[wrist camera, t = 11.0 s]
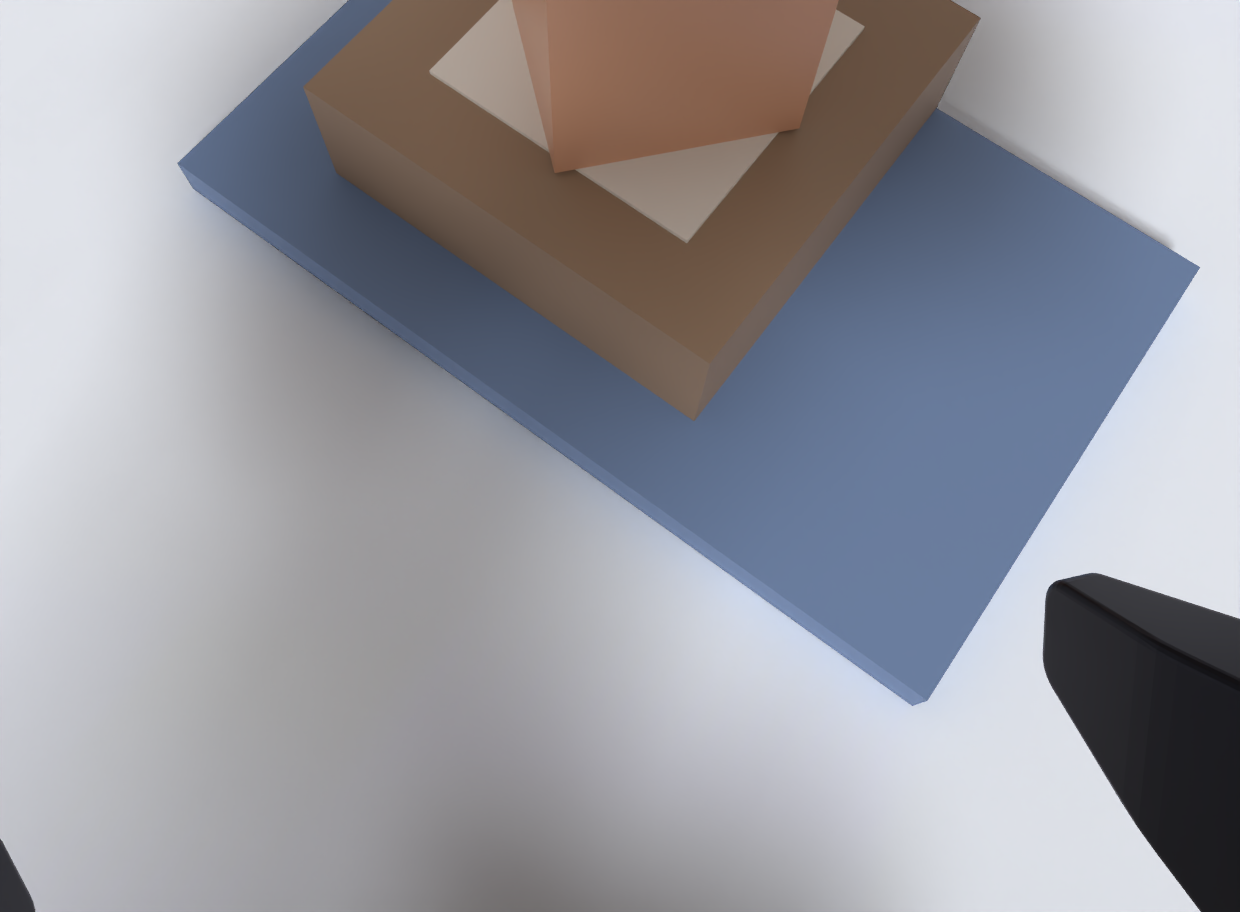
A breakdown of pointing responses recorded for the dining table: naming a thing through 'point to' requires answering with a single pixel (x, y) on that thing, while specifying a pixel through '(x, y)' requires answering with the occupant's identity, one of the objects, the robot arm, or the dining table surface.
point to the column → (667, 72)
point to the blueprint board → (822, 404)
